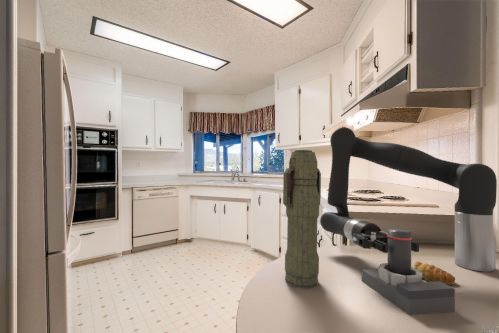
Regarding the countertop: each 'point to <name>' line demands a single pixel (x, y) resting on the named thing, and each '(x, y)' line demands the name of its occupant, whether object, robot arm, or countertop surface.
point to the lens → (399, 251)
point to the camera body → (411, 290)
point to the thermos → (302, 218)
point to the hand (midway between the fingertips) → (402, 248)
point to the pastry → (434, 273)
